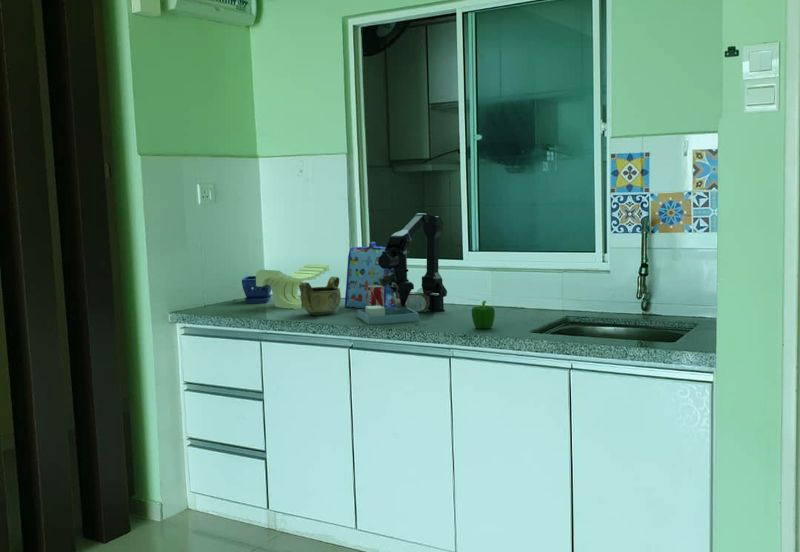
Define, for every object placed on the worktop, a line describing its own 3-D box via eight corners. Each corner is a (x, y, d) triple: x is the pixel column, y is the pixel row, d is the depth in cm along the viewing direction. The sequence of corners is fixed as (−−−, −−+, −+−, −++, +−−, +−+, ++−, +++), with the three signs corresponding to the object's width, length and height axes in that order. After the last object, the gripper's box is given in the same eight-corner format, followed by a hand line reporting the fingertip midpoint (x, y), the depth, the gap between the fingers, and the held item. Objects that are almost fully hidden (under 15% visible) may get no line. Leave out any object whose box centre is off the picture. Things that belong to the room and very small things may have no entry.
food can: (405, 308, 332) (405, 291, 331) (409, 310, 327) (408, 292, 326) (392, 309, 330) (392, 292, 330) (396, 311, 325) (395, 293, 325)
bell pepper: (486, 330, 297) (486, 303, 296) (468, 328, 302) (467, 301, 301) (499, 327, 303) (499, 300, 302) (481, 325, 309) (480, 299, 308)
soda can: (382, 316, 338) (381, 287, 337) (365, 316, 340) (364, 287, 339) (385, 313, 345) (385, 284, 344) (369, 313, 347) (368, 285, 345)
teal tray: (405, 314, 340) (404, 306, 339) (418, 322, 320) (418, 313, 320) (357, 318, 334) (357, 309, 334) (368, 325, 315) (368, 316, 315)
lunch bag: (401, 306, 366) (399, 241, 362) (384, 310, 354) (382, 243, 351) (361, 303, 377) (359, 240, 374) (343, 307, 366) (341, 242, 363)
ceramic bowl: (323, 309, 361) (322, 275, 359) (353, 312, 351) (352, 277, 349) (288, 317, 343) (286, 281, 341) (319, 319, 333) (318, 282, 331)
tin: (430, 312, 346) (429, 292, 345) (427, 313, 343) (427, 293, 342) (396, 311, 352) (396, 291, 351) (393, 312, 349) (393, 292, 348)
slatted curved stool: (306, 300, 392) (305, 263, 390) (330, 303, 382) (328, 264, 380) (257, 308, 370) (255, 269, 368) (280, 311, 359) (279, 270, 357)
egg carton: (380, 317, 331) (379, 305, 330) (385, 320, 323) (384, 308, 322) (365, 318, 329) (365, 306, 329) (370, 321, 321) (369, 309, 321)
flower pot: (270, 303, 387) (269, 278, 385) (242, 304, 387) (240, 278, 385) (274, 299, 400) (273, 275, 399) (246, 300, 400) (245, 275, 398)
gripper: (374, 265, 334) (375, 303, 335) (385, 269, 316) (386, 310, 317) (401, 264, 336) (402, 302, 338) (413, 268, 318) (414, 308, 320)
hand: (400, 305), depth 328 cm, fingers closed on food can, 5 cm apart
